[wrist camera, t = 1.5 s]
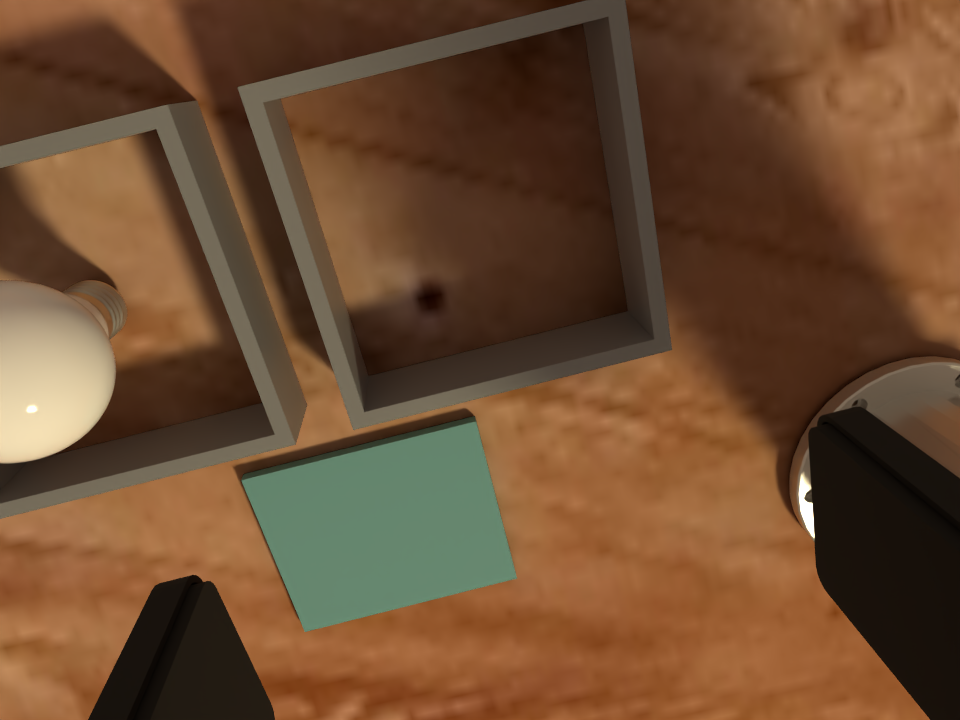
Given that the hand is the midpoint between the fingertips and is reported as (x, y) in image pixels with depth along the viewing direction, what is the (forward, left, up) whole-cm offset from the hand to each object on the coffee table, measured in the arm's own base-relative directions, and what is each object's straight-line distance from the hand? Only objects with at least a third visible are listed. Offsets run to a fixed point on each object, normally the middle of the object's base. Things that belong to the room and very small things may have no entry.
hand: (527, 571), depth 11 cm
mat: (+7, +14, -24) cm, 28 cm away
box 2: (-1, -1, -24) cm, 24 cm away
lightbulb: (+16, -1, -24) cm, 29 cm away
